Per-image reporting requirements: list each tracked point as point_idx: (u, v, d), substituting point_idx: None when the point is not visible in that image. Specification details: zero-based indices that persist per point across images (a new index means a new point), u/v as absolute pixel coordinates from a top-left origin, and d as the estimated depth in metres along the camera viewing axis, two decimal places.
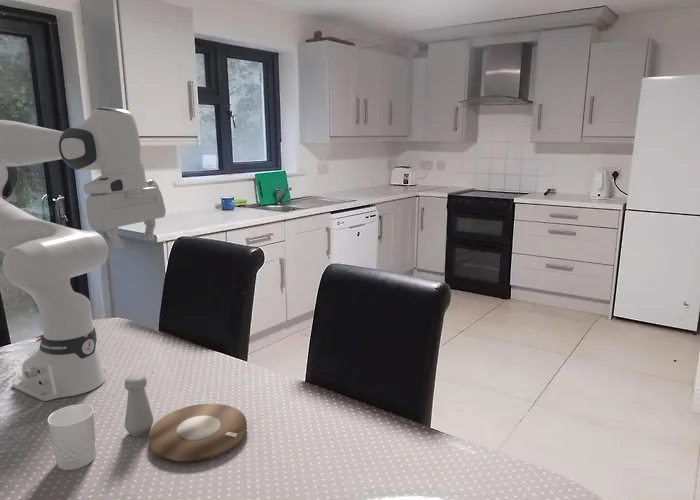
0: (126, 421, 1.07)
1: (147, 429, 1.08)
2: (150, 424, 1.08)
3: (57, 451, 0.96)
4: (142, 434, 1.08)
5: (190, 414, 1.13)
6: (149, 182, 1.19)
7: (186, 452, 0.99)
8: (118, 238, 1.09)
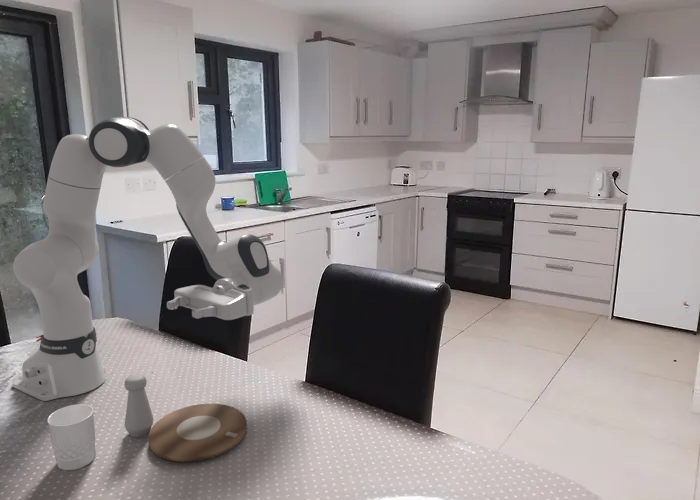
0: (126, 421, 1.07)
1: (147, 429, 1.08)
2: (150, 424, 1.08)
3: (57, 451, 0.96)
4: (142, 434, 1.08)
5: (190, 414, 1.13)
6: None
7: (186, 452, 0.99)
8: None
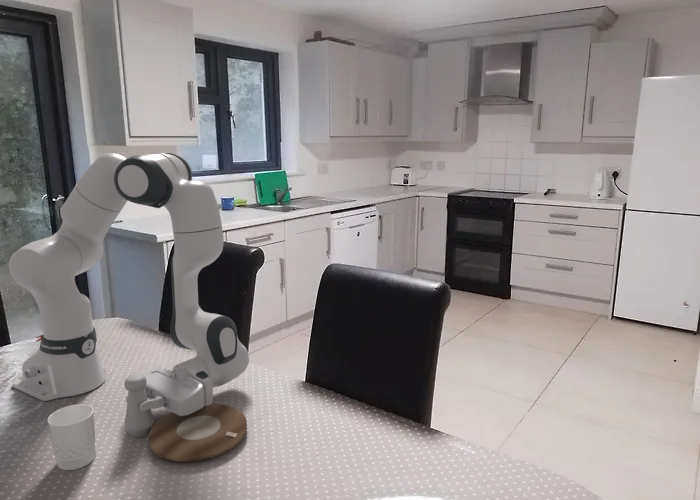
0: (126, 421, 1.07)
1: (147, 429, 1.08)
2: (150, 424, 1.08)
3: (57, 451, 0.96)
4: (142, 434, 1.08)
5: (190, 414, 1.13)
6: None
7: (186, 452, 0.99)
8: None
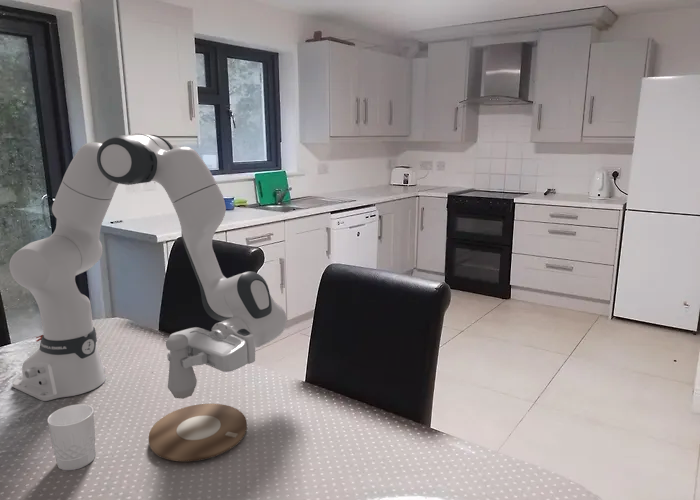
0: (169, 382, 1.04)
1: (191, 390, 1.05)
2: (194, 385, 1.05)
3: (57, 451, 0.96)
4: (186, 395, 1.05)
5: (190, 414, 1.13)
6: None
7: (186, 452, 0.99)
8: None
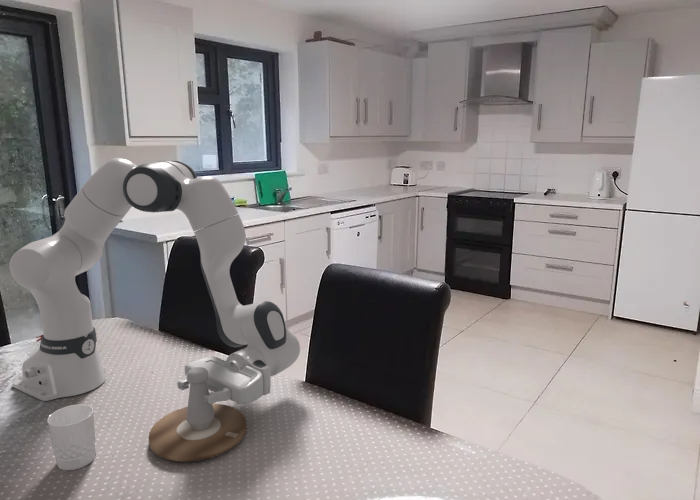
0: (188, 414, 1.05)
1: (209, 423, 1.06)
2: (212, 418, 1.07)
3: (57, 451, 0.96)
4: (204, 428, 1.06)
5: None
6: None
7: (186, 452, 0.99)
8: None
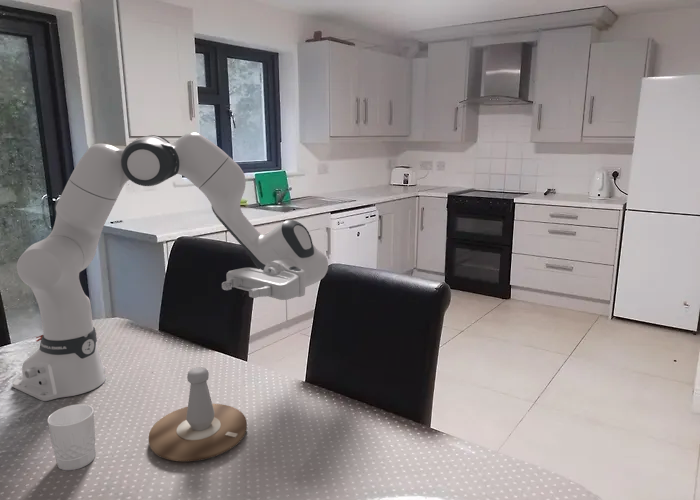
0: (188, 414, 1.05)
1: (209, 423, 1.06)
2: (212, 418, 1.07)
3: (57, 451, 0.96)
4: (204, 428, 1.06)
5: None
6: None
7: (186, 452, 0.99)
8: None
